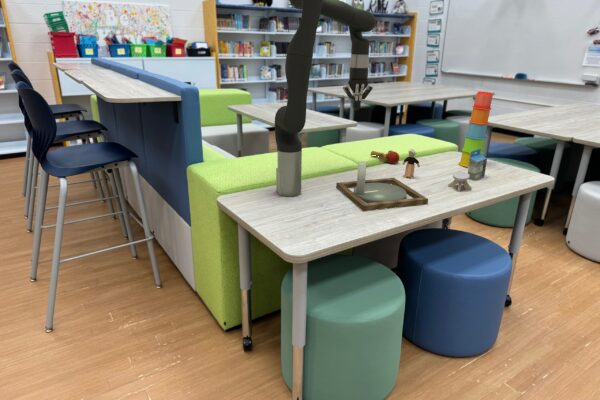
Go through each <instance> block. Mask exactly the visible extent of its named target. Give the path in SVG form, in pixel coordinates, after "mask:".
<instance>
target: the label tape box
mask: <svg viewBox="0 0 600 400" xmlns="http://www.w3.org/2000/svg"><path fill="white" fill-rule="evenodd" d="M480 151H481V149H478V150H474V151H471V153H470V159H469V167H467V173H468V174H469V175H470V177H469V179H468V180H471V181H478V180H479V179H481V178H484V177H485V176H486V175H485V174H486V169H487V160H488V158H486V157H485V156H484V155H483V154H482V155H481V154H480ZM475 152H477V153H476V154H474V153H475Z"/></svg>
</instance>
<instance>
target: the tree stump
mask: <svg viewBox="0 0 600 400" xmlns="http://www.w3.org/2000/svg"><path fill="white" fill-rule="evenodd" d="M469 177H470V175H469V174H468V172H466V171H462V170H461V171H455V172H454V173H453V175H452V178H453V181H451V182H449V183H448V184H447V187H448V188H455V187H456V186H457V185H458V186H457V192H461V188H462V186H464V190H466V191H467V190H468V191H472V187H471V186H472V185H470V184H469V183H468V180H470V179H469Z"/></svg>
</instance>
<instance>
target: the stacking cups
mask: <svg viewBox="0 0 600 400" xmlns="http://www.w3.org/2000/svg"><path fill="white" fill-rule="evenodd" d="M493 95H494V94H493V92H491V91H481V90H480V91H479V90H478V91H477V92H476V94H475V98H474V103H473V105H472V109H471V110H472V111H471V114H470V116H471V117H470V118H469V120H468V126H467V132H466V134H465V135H464V136H465V140H464V145H463V148H461V151H462V152H461V157H460V161H459V162H458V165H459V166H461V167H463V168H468V167H469V159H470V153H471V151H474V150H478V149H481V151H480V154H481V155H482V156H483V154H484V144H485V140H486V139H487V137H486V134H487V128H488V125H489V118H490V112H491V110H492V107H491V106H492V101H493ZM476 153H477V152H475V153H474V154H476Z"/></svg>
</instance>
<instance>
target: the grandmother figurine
mask: <svg viewBox="0 0 600 400" xmlns="http://www.w3.org/2000/svg"><path fill="white" fill-rule="evenodd" d="M416 155H417V152H416V150H415V149H414V148H412V149H409V150H408V156H406V157H405V158H404V160H403V161H402V163H401V164H402V165H403V166H404V165H405V164H406V165H405V171H404V175H402V177H403V178H408V179H414V173H415V165H417V168H420V166H421V165H420V161H419V160H418V159H417V158H416V157H415V156H416Z"/></svg>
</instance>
